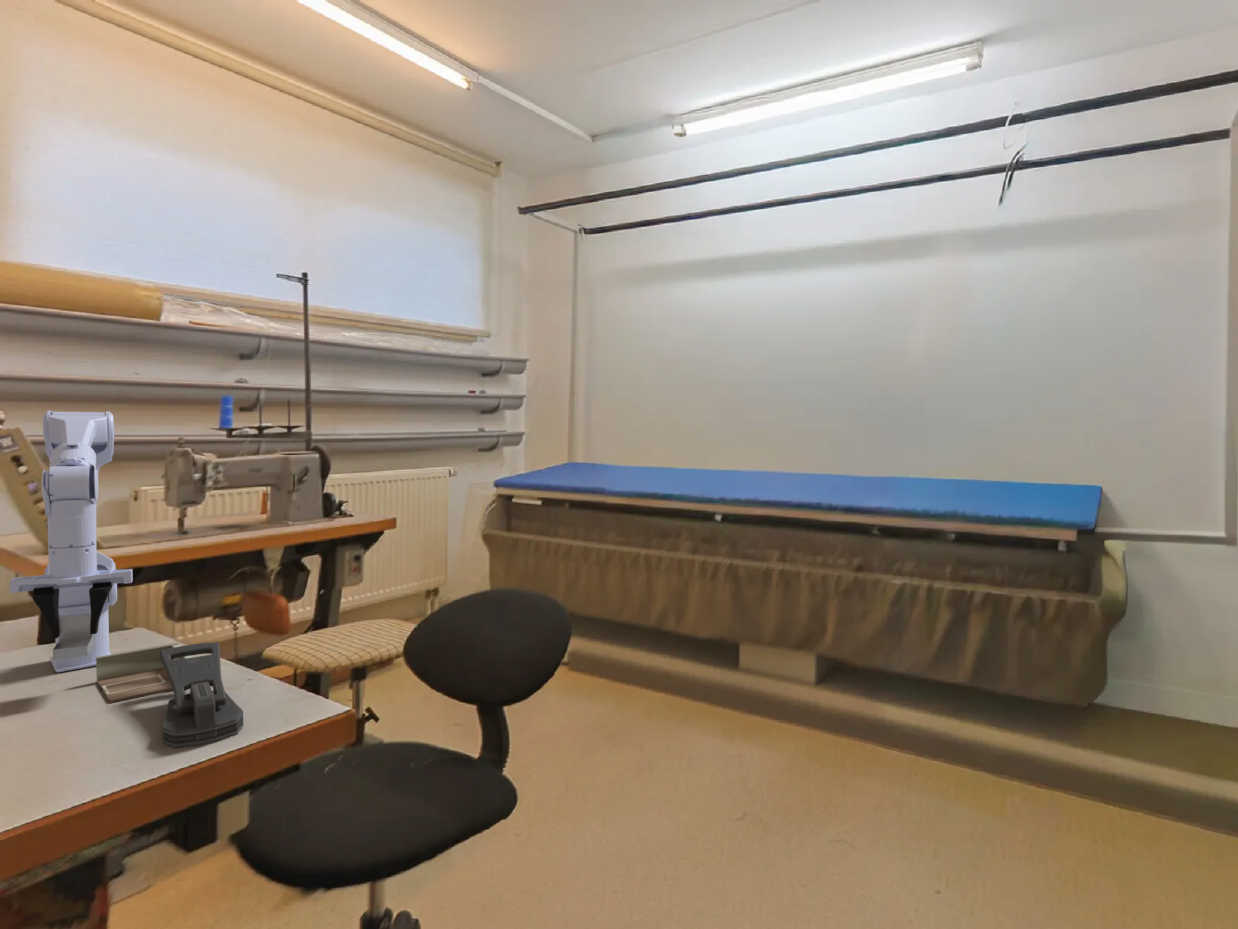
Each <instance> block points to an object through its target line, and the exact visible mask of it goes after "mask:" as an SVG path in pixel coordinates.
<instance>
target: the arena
mask: <svg viewBox="0 0 1238 929" xmlns="http://www.w3.org/2000/svg"><path fill="white" fill-rule="evenodd" d="M180 646H181V645H180V643H178V642H174V643H169V644H165V645H164V644H163V645H158V646H153V647H152V646H151V647H145V648H139V649H135V650H130V651H122V652H117V653H111V655H105V656H99V657H96V666H95V667H96V668H95V670H96V683H97V684H98V686H99V688H100V690H101V691H102V693H103V695H104V696H105V698H106V699H107V701H108V702H109V704H114V703H119V702H122V701H123V702H124V701H128V700H133V699H136V698H142V697H146V696H151V695H157V694H160V693H166V692H169V691H173V689H172V686H171V683H170V681H169V678H168V676H167V673H166V670H165V668H164V666H163V664H162V661H161V658H160V651H162V650H166V649H170V648H174V647H180ZM193 657H194V655H192V656H185V657H179V658H175V659H171V660H180V659H186V658H193Z"/></svg>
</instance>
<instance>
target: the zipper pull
mask: <svg viewBox="0 0 1238 929" xmlns="http://www.w3.org/2000/svg"><path fill="white" fill-rule="evenodd" d="M220 647H221V646H220V643H219V642H218V641H217V642H215V641H214V642H201V643H193V644H186V645H180V647H174V648H170V649H166V650H162V651H160V658H161V661H162V664H163V666H164V668H165V670H166V673H167V676H168V678H169V681H170V683H171V686H172V689H173V690H172V692H173V696H174V698H171V699H169V700H168V702H167V707H166V712H165V717H164V720H163V725H162V744H163V745H165V746H168V747H170V748H173V749H180V748H189V747H198V746H203V745H208V744H211V743H216V742H220V741H223V740H225V739H228V738H231V736H232V737H234V736H237V735H239V733H240V732H239V731H241V730H242V729H243V728H242V727H244V710H243V709H242V708H241V707H240V706H239V705H238V704H237V703H236V702H235V701H234V700H233V699H232V697H231V696H229V694H228V693H227V692H226V691H225V688H224V684H223V680H222V679H223V678H222V669H221V650H220V649H221V648H220ZM197 655H200V656H197ZM185 656H193V658H186V659H180V660H171V659H175V658H179V657H185ZM212 688H213V690H212ZM188 690H190V692H189V693H186V692H185V691H188ZM238 732H239V733H238Z"/></svg>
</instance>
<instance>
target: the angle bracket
mask: <svg viewBox="0 0 1238 929" xmlns="http://www.w3.org/2000/svg"><path fill="white" fill-rule="evenodd" d="M90 621H91V613H81V614H71V615H61V616H59V618H58V625H59V642H58V643H57V645H56V644H55V646H54V647H53V649H52V657H53V660H59V659H66V658H74V657H82V656H88V654H89V652H90V650H91V649H92V647H93V645H94V634H90Z"/></svg>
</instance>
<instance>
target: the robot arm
mask: <svg viewBox="0 0 1238 929" xmlns="http://www.w3.org/2000/svg"><path fill="white" fill-rule="evenodd" d="M114 422H115V419H114V414H112V412H111V411H106V412H104V411H103V412H102V411H101V412H100V411H99V412H97V411H52V410H47V411H46V412H45V413H43V418H42V434H43V441H44V445H45V451H46V456H47V457H48V460H49V467H48V469H47V470H46V469H43V470H42V474H41V495H42V499H43V503H44V504H43V505H44V514H45V517H47V546H48V547H47V549H48V550H47V551H48V564H47V565H46V567H45V568H44V574H41V575H32V576H31V575H30V576H24V577H13V578H11V579H10V580H8V581H9V594H19V593H21V592H33V593H32V596H31V598H32V600H33V603H35V604H36V606H37V607H38V609H39V610H40V612H41V613H42V615H43V617H44V619H45V621H46V623H47V626H48V628H49V632H50V636H51V639H54V640H55V646H56V645H57V643H58V642H59V625H58V618H59V616H61V615H71V614H81V613H91V621H90V634H94V645H93V647H92V649H91V650H90V652H89V654H88V656H82V657H74V658H66V659H59V660H53V656H50V658H49V661H50V663H51V665H52V667H53V670H54V671H55V672H56V673H63V672H67V671H68V672H69V671H73V670H77V669H78V670H79V669H83V668H84V669H85V668H91V667H96V657H99V656H105V655H111V654H112V652H111V651H110V629H109V627H110V626H109V623H110V622H109V607H110V606H114V605H115V604H116V602H117V601H118V584H125V585H126V584H132V583H133V580H134V579H133V578H134V577H133V574H134V573H133V568H129V569H127V568H126V569H125V568H124V569H116V568H117V567H116V566H117V565H116V562H114V559H113V558H111V557H109V556H107V555H106V554H103V553H101V552H99V551H98V550H97V549H98V548H97V543H98V542H97V502H98V498H99V472H100V469H101V467H103V466H104V465H106V464H108V463H110V462H112V461H113V455H114V450H115V449H114V447H115V446H114V444H115V424H114Z"/></svg>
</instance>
